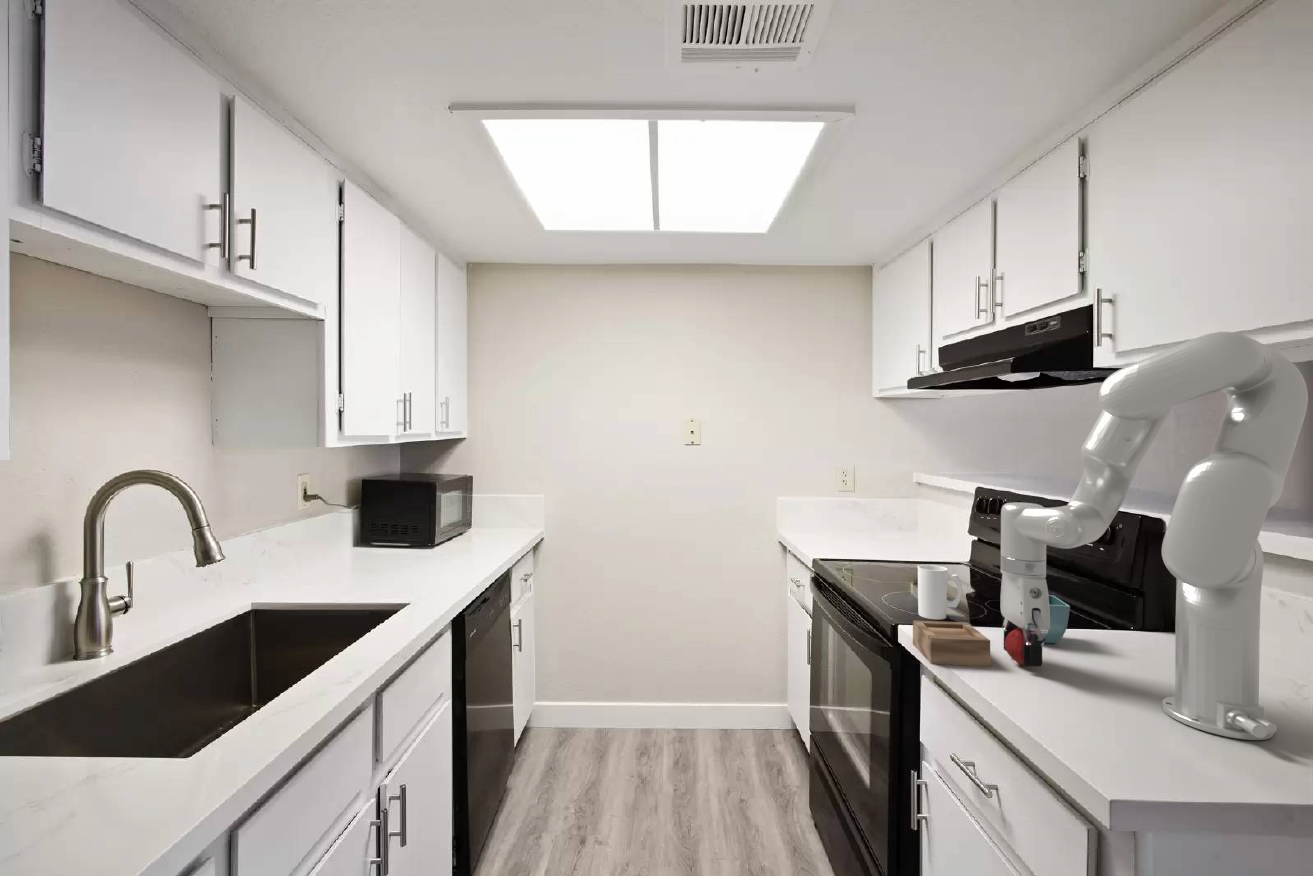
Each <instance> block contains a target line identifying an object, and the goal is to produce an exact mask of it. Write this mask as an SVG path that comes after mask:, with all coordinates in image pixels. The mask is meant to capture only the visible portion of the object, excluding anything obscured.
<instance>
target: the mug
mask: <svg viewBox="0 0 1313 876" xmlns="http://www.w3.org/2000/svg"><path fill="white" fill-rule="evenodd" d="M949 581H952V582H954V583H955V585H956V586H957V594H956V596H955V598H954V599H953V600H948V595H947V594H948V582H949ZM963 588H964V587H963V585H962V583H961V580H960V578H959V575H958V574H951V575H949V574H948V568H947V567H945V566H941V565H937V564H936V565H935V564H921V565H920V564H919V565H917V606H918V607H917V609H918V610H917V611H918V612H917V614H918V616H920V617H922V618H924V619H929V620H933V621H939V620H945V619H947V609H948V608H954V609H955V608H957V607H958V605H959V603H960V601H961V599H962V596H963V592H964V589H963Z"/></svg>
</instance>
